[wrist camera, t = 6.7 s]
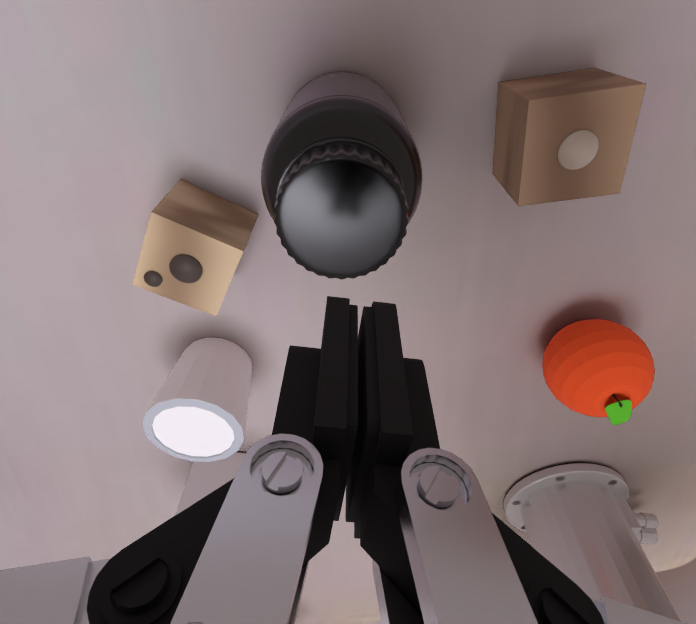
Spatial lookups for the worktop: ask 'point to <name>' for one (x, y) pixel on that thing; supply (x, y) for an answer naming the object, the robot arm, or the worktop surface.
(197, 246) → the oak block
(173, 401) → the white cylinder with rim
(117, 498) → the worktop surface
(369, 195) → the supplement bottle
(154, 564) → the robot arm
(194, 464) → the milk carton
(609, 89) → the walnut block
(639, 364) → the clementine
